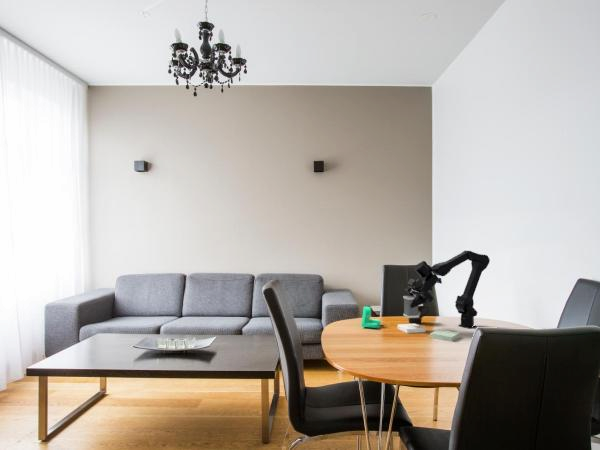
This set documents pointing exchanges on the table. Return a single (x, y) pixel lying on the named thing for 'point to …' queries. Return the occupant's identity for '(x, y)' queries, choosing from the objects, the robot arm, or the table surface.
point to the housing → (408, 310)
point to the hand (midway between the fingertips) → (408, 306)
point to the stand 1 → (411, 328)
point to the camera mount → (367, 321)
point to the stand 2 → (445, 335)
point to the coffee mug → (419, 319)
